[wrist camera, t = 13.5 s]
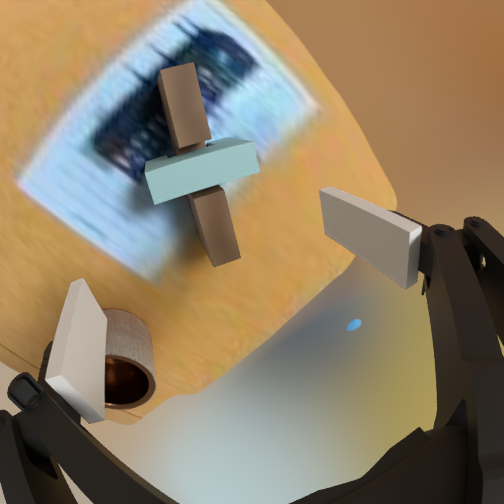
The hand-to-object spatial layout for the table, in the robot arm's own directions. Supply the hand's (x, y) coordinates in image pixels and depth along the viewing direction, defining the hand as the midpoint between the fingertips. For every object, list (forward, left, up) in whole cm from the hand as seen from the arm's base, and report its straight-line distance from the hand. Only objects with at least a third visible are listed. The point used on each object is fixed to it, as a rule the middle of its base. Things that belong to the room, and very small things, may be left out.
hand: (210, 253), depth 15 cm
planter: (-15, -18, -22) cm, 33 cm away
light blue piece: (+2, +2, -22) cm, 22 cm away
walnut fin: (+3, +2, -22) cm, 22 cm away
